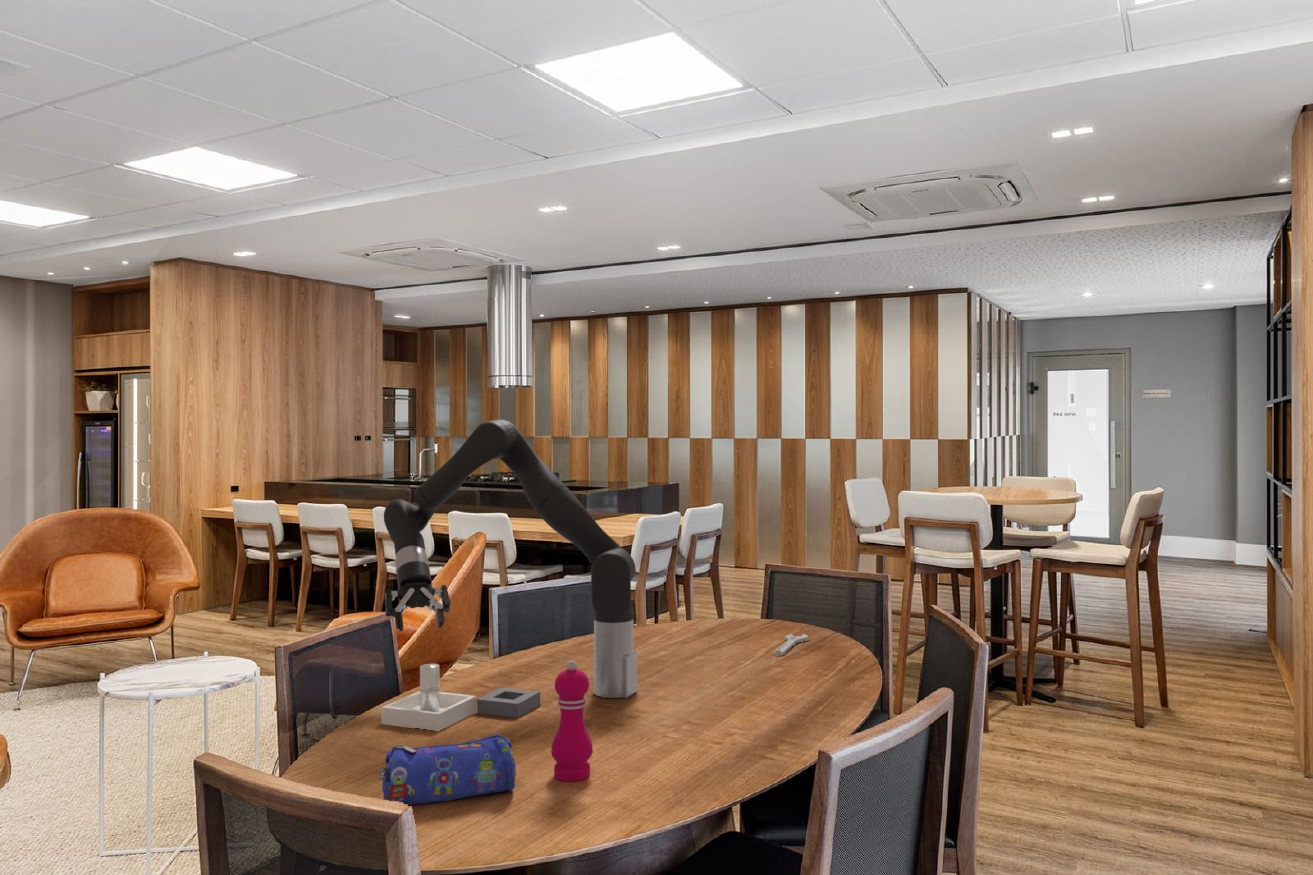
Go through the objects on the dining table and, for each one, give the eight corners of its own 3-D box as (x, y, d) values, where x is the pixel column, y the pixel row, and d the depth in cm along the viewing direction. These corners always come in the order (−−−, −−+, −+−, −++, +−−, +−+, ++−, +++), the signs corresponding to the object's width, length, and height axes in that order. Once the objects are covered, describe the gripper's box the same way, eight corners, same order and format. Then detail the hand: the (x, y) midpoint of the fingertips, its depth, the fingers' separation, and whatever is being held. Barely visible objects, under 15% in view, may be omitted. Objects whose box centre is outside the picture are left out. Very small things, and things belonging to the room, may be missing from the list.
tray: (476, 712, 193) (476, 696, 193) (438, 731, 180) (438, 714, 180) (422, 705, 198) (422, 690, 198) (381, 724, 185) (381, 707, 185)
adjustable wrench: (781, 658, 243) (781, 652, 243) (759, 656, 246) (759, 650, 246) (810, 640, 265) (810, 634, 265) (789, 638, 268) (789, 632, 268)
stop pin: (443, 711, 190) (443, 664, 190) (432, 716, 186) (432, 668, 186) (427, 709, 191) (427, 663, 192) (416, 714, 188) (416, 667, 188)
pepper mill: (552, 768, 159) (551, 656, 159) (592, 767, 159) (592, 655, 160) (550, 783, 152) (550, 666, 152) (593, 782, 152) (592, 665, 152)
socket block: (540, 705, 198) (540, 691, 198) (517, 718, 188) (517, 703, 188) (501, 700, 201) (501, 687, 201) (477, 713, 192) (477, 699, 192)
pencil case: (379, 817, 139) (379, 755, 139) (377, 796, 147) (377, 738, 147) (520, 798, 146) (520, 740, 146) (511, 780, 154) (511, 724, 154)
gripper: (383, 561, 204) (389, 620, 193) (445, 558, 210) (455, 615, 199) (380, 581, 209) (386, 640, 198) (441, 577, 215) (450, 634, 204)
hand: (421, 627), depth 199 cm, fingers open, 8 cm apart
